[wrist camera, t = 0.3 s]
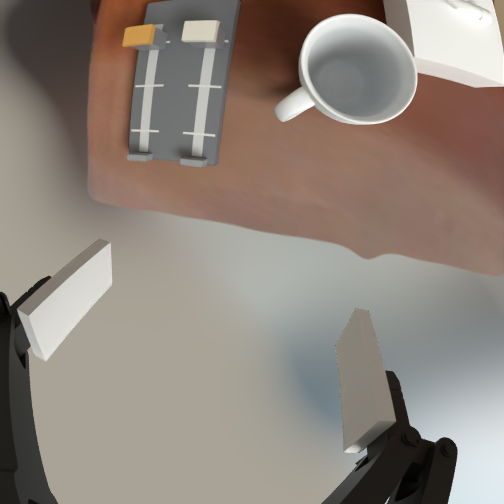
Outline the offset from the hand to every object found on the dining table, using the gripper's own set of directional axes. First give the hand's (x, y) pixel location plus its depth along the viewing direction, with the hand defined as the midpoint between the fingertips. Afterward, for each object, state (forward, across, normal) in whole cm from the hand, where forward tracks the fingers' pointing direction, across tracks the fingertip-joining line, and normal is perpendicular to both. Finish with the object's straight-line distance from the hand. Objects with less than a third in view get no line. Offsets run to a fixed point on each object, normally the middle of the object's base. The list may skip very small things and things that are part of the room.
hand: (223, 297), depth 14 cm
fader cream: (+25, -11, +17) cm, 33 cm away
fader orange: (+25, -19, +17) cm, 36 cm away
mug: (+27, +5, +15) cm, 31 cm away
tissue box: (+28, +16, +34) cm, 47 cm away
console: (+27, -15, +12) cm, 33 cm away
